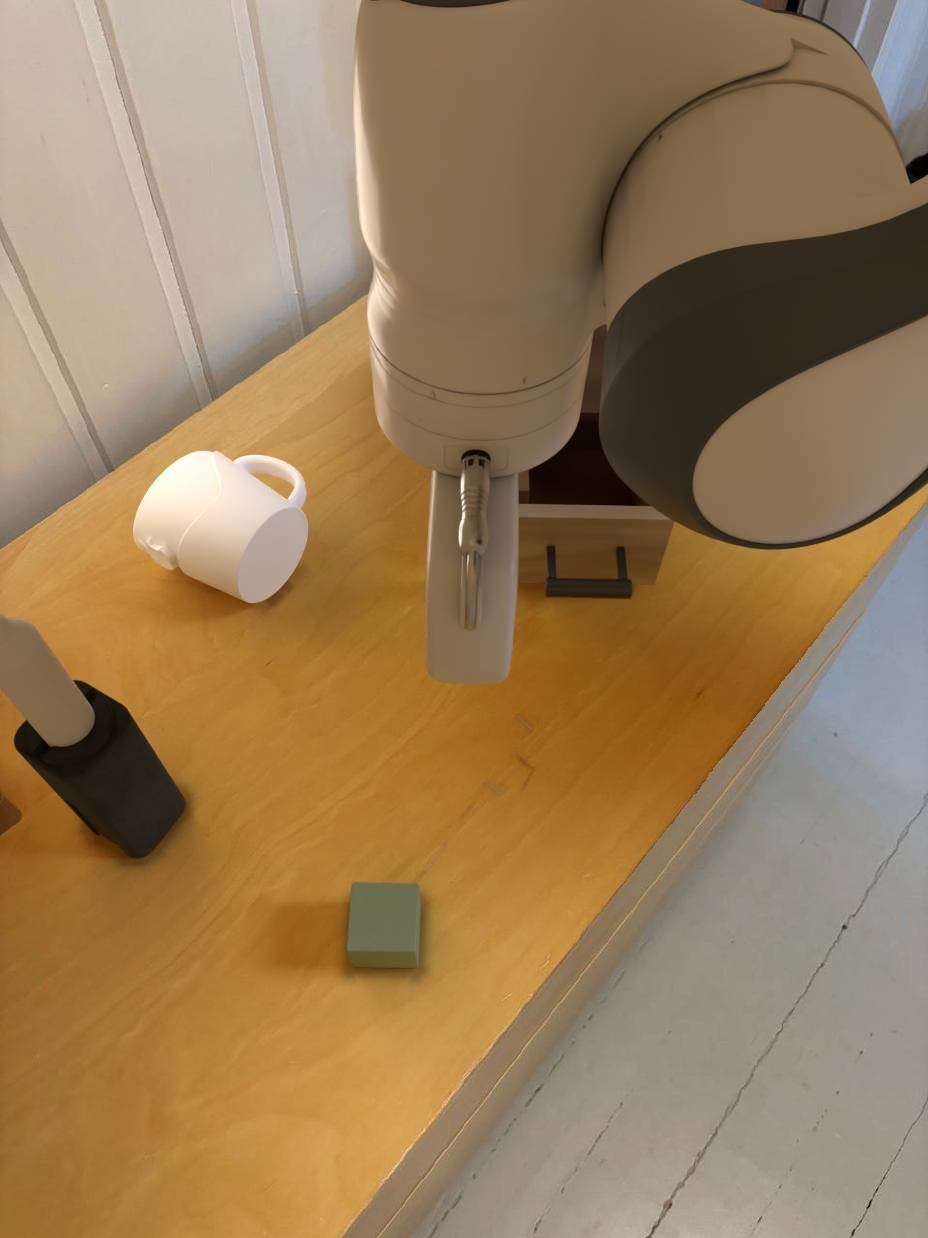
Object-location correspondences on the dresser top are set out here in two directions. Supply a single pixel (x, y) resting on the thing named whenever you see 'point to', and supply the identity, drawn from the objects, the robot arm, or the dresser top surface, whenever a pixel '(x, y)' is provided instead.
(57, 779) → the candle
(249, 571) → the mug
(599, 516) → the drawer
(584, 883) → the dresser top surface
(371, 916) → the block
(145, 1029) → the dresser top surface
